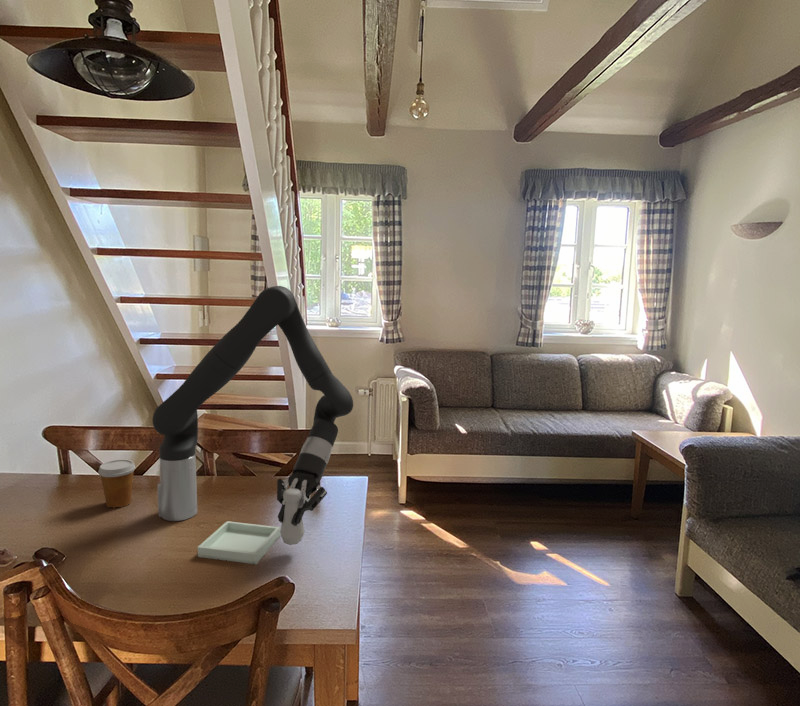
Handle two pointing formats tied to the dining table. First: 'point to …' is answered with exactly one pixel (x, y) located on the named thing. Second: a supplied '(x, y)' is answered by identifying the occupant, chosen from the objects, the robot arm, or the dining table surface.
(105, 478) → the disposable coffee cup
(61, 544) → the dining table surface
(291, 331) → the robot arm
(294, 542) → the salt shaker
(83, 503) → the dining table surface
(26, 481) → the dining table surface
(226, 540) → the tray
